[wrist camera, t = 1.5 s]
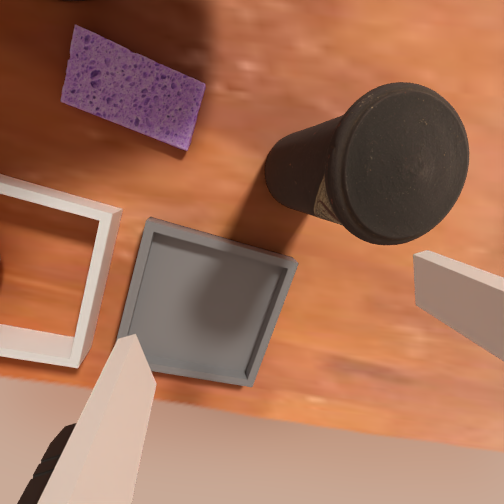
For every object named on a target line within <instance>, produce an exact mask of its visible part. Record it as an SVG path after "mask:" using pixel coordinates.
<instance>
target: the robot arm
mask: <svg viewBox="0 0 504 504" xmlns="http://www.w3.org/2000/svg"><path fill="white" fill-rule="evenodd" d="M63 1H84V0H63ZM413 262H414V282H415V302H416V305H417V306H418V307H420V308H421V309H423V310H424V311H426V312H427V313H429V314H431V315H432V316H434V317H435V318H437V319H438V320H440V321H441V322H443V323H445V324H446V325H448V326H449V327H451V328H452V329H454V330H456V331H457V332H459V333H460V334H462V335H463V336H465V337H466V338H468V339H470V340H471V341H473V342H474V343H476V344H477V345H479V346H481V347H482V348H484V349H485V350H487V351H488V352H490V353H491V354H493V355H495V356H496V357H498V358H499V359H501V360H502V361H504V278H503V277H500V276H498V275H495V274H492V273H489V272H487V271H484V270H481V269H478V268H476V267H473V266H470V265H467V264H465V263H462V262H459V261H456V260H454V259H451V258H448V257H445V256H443V255H440V254H437V253H434V252H432V251H429V250H426V251H423V252H419V253H416V254H413ZM155 389H156V382H155V379H154V377H153V374H152V372H151V369H150V367H149V365H148V362H147V360H146V357H145V355H144V353H143V350H142V348H141V345H140V343H139V340H138V338H137V336H136V334H133V335H130V336H126V337H123V338H119V339H118V340H117V342H116V344H115V346H114V348H113V350H112V352H111V354H110V356H109V358H108V360H107V362H106V364H105V366H104V368H103V370H102V372H101V374H100V377H99V379H98V381H97V383H96V385H95V387H94V389H93V391H92V393H91V395H90V397H89V399H88V401H87V403H86V405H85V407H84V409H83V411H82V413H81V416H80V417H79V419H78V422H77V423H75V424H72V425H68V426H66V427H64V428H63V430H62V431H61V432H60V433H59V434H58V435H57V436H56V438H55V439H54V440H53V441H52V442H51V443H50V445H49V447H48V449H47V451H46V453H45V454H44V456H43V458H42V460H41V464H39V465H38V467H37V469H36V471H35V472H34V474H33V479H31V480H30V482H29V484H28V485H27V487H26V489H25V491H24V493H23V494H22V496H21V498H20V500H19V502H18V503H17V504H132V499H133V493H134V489H135V483H136V480H137V475H138V470H139V464H140V460H141V455H142V451H143V446H144V441H145V437H146V431H147V427H148V422H149V417H150V412H151V408H152V403H153V398H154V393H155Z"/></svg>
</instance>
